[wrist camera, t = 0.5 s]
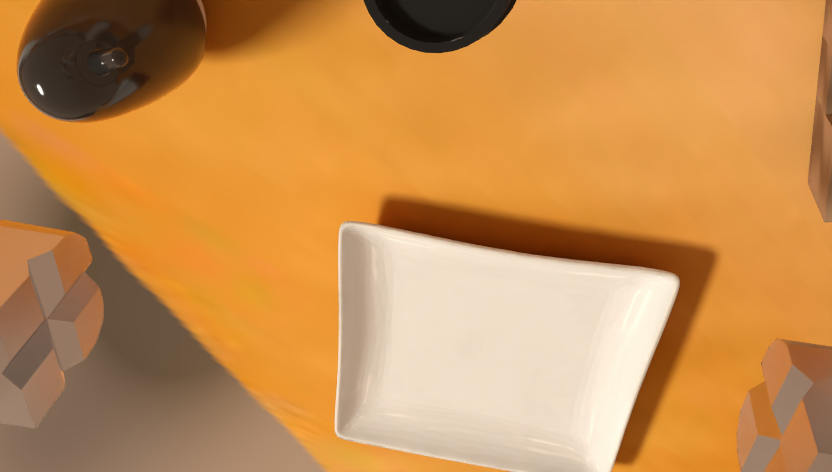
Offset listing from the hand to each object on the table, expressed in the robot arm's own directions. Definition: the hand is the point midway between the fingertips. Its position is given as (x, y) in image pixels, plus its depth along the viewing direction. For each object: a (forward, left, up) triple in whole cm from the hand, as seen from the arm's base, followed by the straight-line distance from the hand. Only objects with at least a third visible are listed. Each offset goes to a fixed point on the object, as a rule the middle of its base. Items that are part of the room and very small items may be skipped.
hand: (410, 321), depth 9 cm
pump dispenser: (+18, -24, -45) cm, 54 cm away
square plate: (+44, +6, -46) cm, 64 cm away
